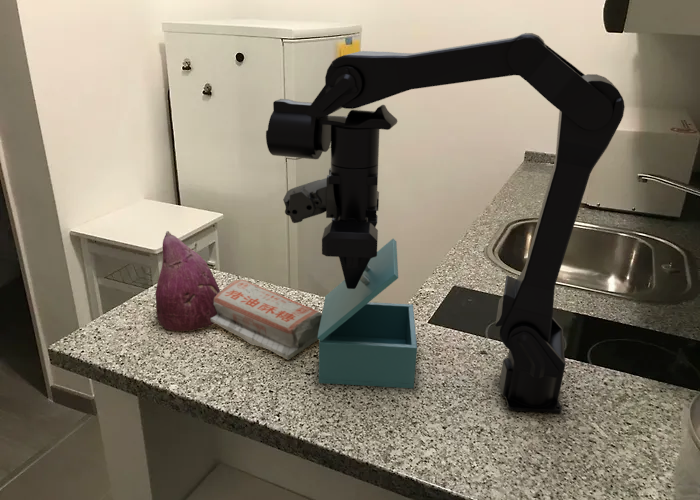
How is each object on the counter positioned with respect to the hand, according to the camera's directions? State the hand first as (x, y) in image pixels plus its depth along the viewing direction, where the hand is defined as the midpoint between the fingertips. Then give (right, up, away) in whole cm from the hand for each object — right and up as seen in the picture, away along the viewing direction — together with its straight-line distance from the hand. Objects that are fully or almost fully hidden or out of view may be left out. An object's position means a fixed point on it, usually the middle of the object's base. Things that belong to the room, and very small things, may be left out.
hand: (352, 279), depth 76 cm
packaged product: (-13, -8, +12) cm, 20 cm away
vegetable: (-25, -6, +15) cm, 30 cm away
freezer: (+2, -12, +5) cm, 13 cm away
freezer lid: (+1, -1, +1) cm, 2 cm away
